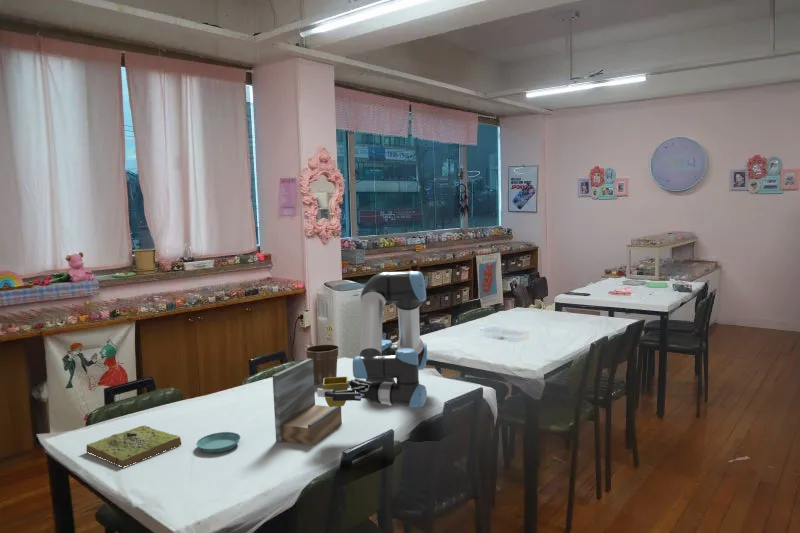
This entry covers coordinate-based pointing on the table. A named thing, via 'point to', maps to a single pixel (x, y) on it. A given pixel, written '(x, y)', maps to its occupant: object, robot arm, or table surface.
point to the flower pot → (336, 384)
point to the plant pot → (323, 361)
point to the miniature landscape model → (133, 445)
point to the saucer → (218, 442)
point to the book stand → (301, 406)
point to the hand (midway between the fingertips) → (325, 387)
